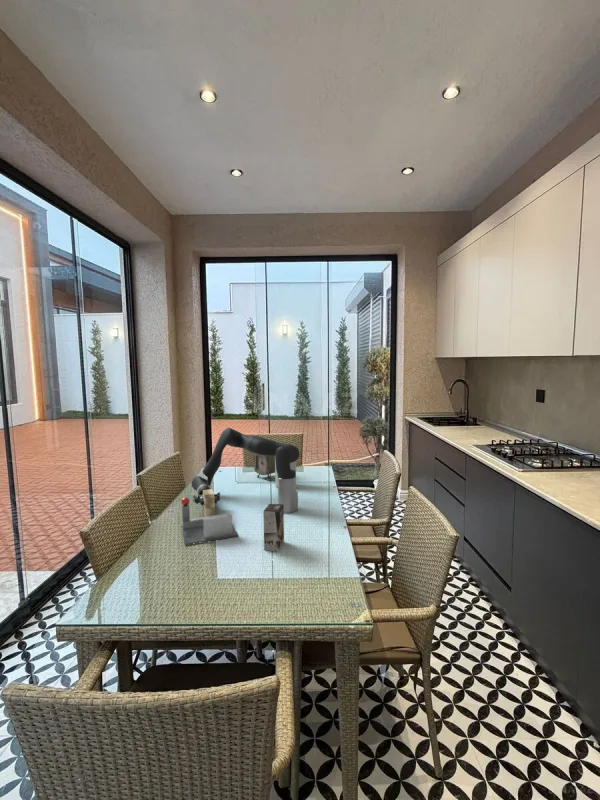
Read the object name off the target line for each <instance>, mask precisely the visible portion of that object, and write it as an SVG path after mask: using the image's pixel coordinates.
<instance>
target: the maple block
mask: <svg viewBox="0 0 600 800" xmlns="http://www.w3.org/2000/svg"><path fill="white" fill-rule="evenodd" d="M214 494H215V492H214V490H213V489H212V488H211V489H208V490H203V501H204V505H203V506H202V507H203V515H205V516H204V517H206V516H213V515H216V507H215V506H216V504H215V496H214Z"/></svg>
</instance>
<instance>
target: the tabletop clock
mask: <svg viewBox="0 0 600 800" xmlns="http://www.w3.org/2000/svg"><path fill="white" fill-rule="evenodd" d="M253 468H254V472H255V473H256V474H258V475H256V478H260V475H261V476H266V477H267V478H266V481H268V482H269V481H270V478H271V476H270V475H271V474H275V456H266V455H258V454H255V453H253Z"/></svg>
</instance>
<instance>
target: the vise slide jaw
mask: <svg viewBox="0 0 600 800" xmlns="http://www.w3.org/2000/svg"><path fill="white" fill-rule="evenodd" d="M180 502H181V503H180V504H181V518H182V519H181V520H182V521H181V522H182V523H181V524H182V525H183V529H185V528H192V527H199V526H203V518H205V516H200V517H193V518H190V499H189V498H188V497H186V496H185V497H182V499H180ZM226 514H230V513H222V514H215V515H213V516H219V515H226ZM206 517H212V516H206Z"/></svg>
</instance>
